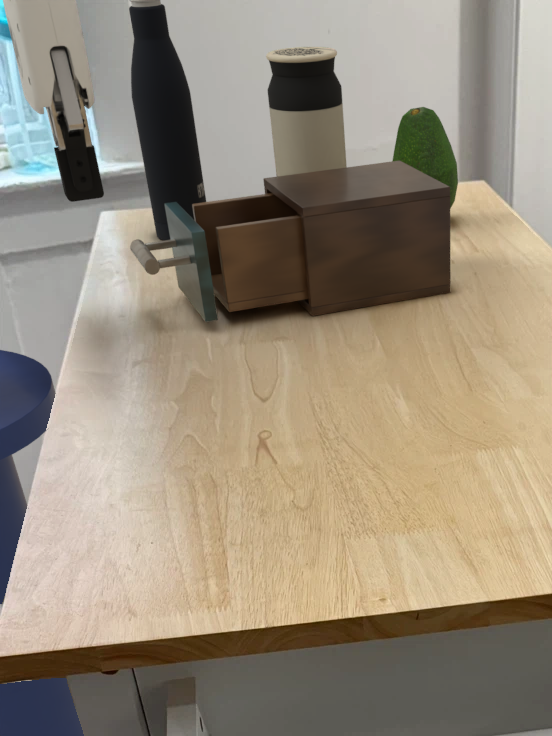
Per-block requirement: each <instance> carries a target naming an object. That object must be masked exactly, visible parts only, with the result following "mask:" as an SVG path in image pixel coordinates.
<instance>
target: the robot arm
mask: <svg viewBox="0 0 552 736" xmlns="http://www.w3.org/2000/svg"><path fill="white" fill-rule="evenodd" d="M2 2H3V3H2V4H3V7H4V13H5V18H6V21H7V26H8V30H9V35H10V38H11V43H12V48H13V51H14V52H13V53H14V55H15V60H16V64H17V69H18V73H19V78H20V83H21V87H22V88H21V89H22V92H23V97H24V99H25V100H26V102H27V103H28V105H29V106H30V107H31V108H32V110H34V111H35V112H36V114H37V113H38V114H39V115H45V109H46V113H47V117H48V122H49V125H50V129H51V133H52V137H53V141H54V145H55V147H53V150H54V155H55V158H56V164H57V166H58V167H57V168H58V171H59V175H60V180H61V185H62V188H63V189H62V190H63V192H64V195H65V197H66V198H67V200H68V201H69V202H71V203H72V202H73V203H74V202H82V201H88V200H95V199H101V198H103V197H104V195H105V192H104V186H103V182H102V178H101V172H100V167H99V163H98V162H99V161H98V158H97V154H96V148H95V145H94V144H93V142H92V137H91V132H90V127H89V122H88V117H87V111H86V109H87V110H89V109H91V108H92V107H93V105H94V104H95V94H94V92H95V91H94V86H93V80H92V75H91V70H90V64H89V58H88V53H87V47H86V42H85V37H84V32H83V27H82V23H81V18H80V12H79V7H78V3H77V0H2Z"/></svg>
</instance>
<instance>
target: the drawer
mask: <svg viewBox="0 0 552 736" xmlns="http://www.w3.org/2000/svg"><path fill="white" fill-rule="evenodd" d="M164 205H165V210H166V216H167V222H168V228H169V234H170V240H159V241H158V240H157V241H152V242H145V243H144V241H143V240H141V239H133V240H132V241H131V243H130V246H129V247H130V251H131V253H132V254H133V256H134V257H135V258H136V260H137V261H138V263H139V264H140V265H141V266H142V268H143V269H144V271H145V272H146V273H147V274H148V275H152V276H155V275H157V274H158V273H159V272H160V270H161V269H167V268H172V267H174V268H175V269H174V270H175V273H176V274H175V275H176V280H177V285H178V288H179V289H180V291H181V292H182V293H183V295H184V296H185V297H186V299H187V300H188V302H189V303H190V304H191V305H192V306H193V308H194V309H195V310H196V312H197V313H198V314H199V315H200V316H201V318H202V319H203V321H204V322H205V323H209V322H215V321H218V320H219V316H218V310H217V303H216V299H215V298H217V299H218V300H219V301H220V303H221V304H222V305H223V306H224V308H225V309H226V310H227V311H228V312H229V313H231V312H238V311H245V310H249V309H250V310H251V309H254V308H255V309H256V308H263V307H268V306H274V305H279V304H286V303H287V304H288V303H292V302H293V303H294V302H298V301H299V300H305V299H308V288H307V277H306V267H305V256H304V245H303V234H302V223H301V215H300V214H299V213H298V212H296V211H295V210H294V209H292V208H291V207H290V206H289V205H287V204H286V203H285V202H283V201H282V200H281V199H279V198H278V197H277V196H275V195H274V194H273V193H269V194H265V193H263V194H255V195H254V194H253V195H248V196H241V197H239V196H238V197H233V198H225V199H217V200H210V201H206V202H203V203H195V204H192V208H193V214H194V220H193V219H192V217H191V216H190V215H189V214H188V213H187V212H186V211H185V210H184V209H183V208H182V207H181V206H180V205H179V204H178V203H177V202H171V203H165V204H164ZM166 249H171V250H172V256H173V257H170V258H162V259H157V258H156V257H155V255H154V254H153V253H152V252H151V251H158V250H166Z"/></svg>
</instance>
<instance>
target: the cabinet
mask: <svg viewBox="0 0 552 736" xmlns="http://www.w3.org/2000/svg"><path fill="white" fill-rule="evenodd" d="M262 180H263V187H264V194H269V193H273V194H274V195H275V196H277V197H278V198H279V199H281V200H282V201H283V202H285V203H286V204H287V205H289V206H290V207H291V208H292V209H294V210H295V211H296V212H298V213H299V214H300V215H301V223H302V234H303V245H304V256H305V267H306V277H307V288H308V299H305V300H299V301H297V303H298V304H300V306H302V308H303V309H305V310H306V312H308V313H309V314H310V316H312V317H314V316H320V315H325V314H331V313H337V312H344V311H349V310H355V309H356V310H357V309H361V308H366V307H373V306H378V305H385V304H389V303H390V304H391V303H396V302H403V301H408V300H413V299H419V298H426V297H431V296H437V295H443V294H449V293H451V209H450V187H449V186H447V185H445V184H443V183H442V182H440V181H438V180H436V179H434V178H432V177H430V176H428V175H426V174H424V173H422V172H421V171H419V170H417V169H415V168H413V167H411V166H409V165H407V164H405V163H403V162H401V161H393V160H392V161H385V162H377V163H370V164H363V165H362V164H361V165H354V166H347V167H346V168H339V169H331V170H323V171H316V172H308V173H300V174H293V175H285V176H278V177H277V176H271V177H263V179H262Z"/></svg>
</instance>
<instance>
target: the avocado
mask: <svg viewBox="0 0 552 736" xmlns="http://www.w3.org/2000/svg"><path fill="white" fill-rule="evenodd" d="M392 155H393V156H392V161H401V162H403V163H405V164H407V165H409V166H411V167H413V168H415V169H417V170H419V171H421V172H422V173H424V174H426V175H428V176H430V177H432V178H434V179H436V180H438V181H440V182H442V183H443V184H445V185H447V186H449V187H450V210H451V209H452V207H453V205H454V203H455V201H456V197H457V190H458V185H459V175H458V174H459V173H458V162H457V160H456V157H455V153H454V150H453V147H452V144H451V142H450V139H449V137H448V134H447V132H446V130H445V127H444V125H443V123H442V121H441V119H440V117H439V116H438V114H437V113H436V111H435V110H434V109H431V108H429V107H425V106H419V107H414V108H410V109H409V110H408V111H406V113H404V114H403V115H402V116H401V119H400V122H399V124H398V128H397V133H396V139H395V145H394V148H393V154H392Z"/></svg>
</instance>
